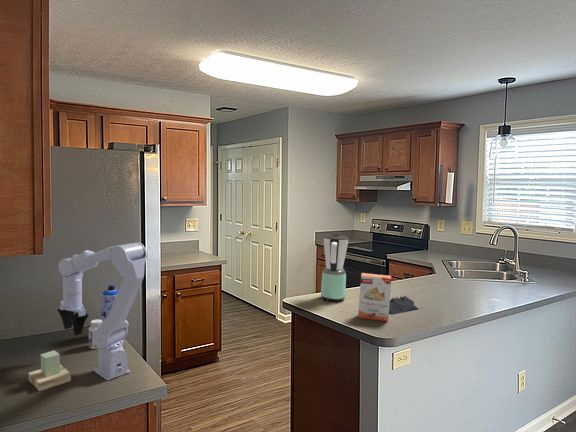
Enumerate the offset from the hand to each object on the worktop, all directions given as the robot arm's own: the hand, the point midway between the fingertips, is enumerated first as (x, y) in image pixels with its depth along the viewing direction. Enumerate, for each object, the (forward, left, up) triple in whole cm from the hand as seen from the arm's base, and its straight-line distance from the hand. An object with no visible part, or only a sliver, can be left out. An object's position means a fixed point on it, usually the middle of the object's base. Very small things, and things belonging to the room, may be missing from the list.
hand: (73, 331), depth 147 cm
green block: (-9, +11, -8) cm, 16 cm away
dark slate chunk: (-51, -140, -11) cm, 150 cm away
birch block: (-9, +11, -11) cm, 18 cm away
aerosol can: (+13, -20, -11) cm, 26 cm away
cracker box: (-51, -117, -11) cm, 128 cm away
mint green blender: (-21, -127, -11) cm, 129 cm away
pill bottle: (+6, -11, -11) cm, 16 cm away
